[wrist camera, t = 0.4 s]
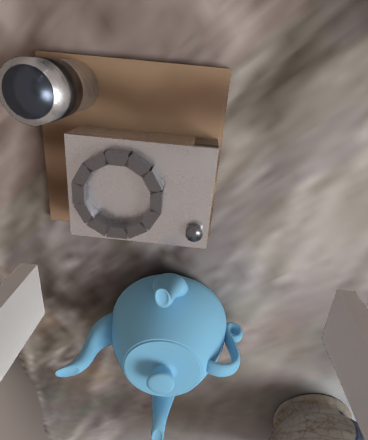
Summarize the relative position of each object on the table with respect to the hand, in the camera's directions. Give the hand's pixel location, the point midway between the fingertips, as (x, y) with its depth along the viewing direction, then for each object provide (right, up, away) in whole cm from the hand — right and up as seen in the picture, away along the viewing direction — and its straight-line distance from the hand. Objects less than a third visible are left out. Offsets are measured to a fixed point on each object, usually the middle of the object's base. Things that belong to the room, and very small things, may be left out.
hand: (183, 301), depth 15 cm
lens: (-11, +18, +20) cm, 29 cm away
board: (-6, +12, +24) cm, 27 cm away
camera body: (-4, +8, +24) cm, 25 cm away
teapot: (-3, -9, +34) cm, 35 cm away
